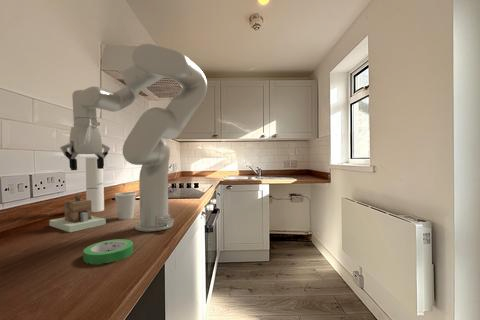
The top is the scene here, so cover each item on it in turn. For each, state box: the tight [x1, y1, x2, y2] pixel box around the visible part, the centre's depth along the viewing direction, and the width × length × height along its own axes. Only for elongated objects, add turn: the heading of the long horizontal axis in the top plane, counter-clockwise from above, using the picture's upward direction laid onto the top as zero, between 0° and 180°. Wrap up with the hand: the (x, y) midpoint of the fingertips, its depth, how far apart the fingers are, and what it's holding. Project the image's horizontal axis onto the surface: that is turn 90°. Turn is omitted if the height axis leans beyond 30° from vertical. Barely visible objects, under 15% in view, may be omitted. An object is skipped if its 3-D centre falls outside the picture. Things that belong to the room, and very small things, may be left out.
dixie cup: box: [113, 191, 137, 220], centre depth 105 cm, size 8×8×10 cm
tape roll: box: [82, 238, 134, 265], centre depth 64 cm, size 11×11×3 cm
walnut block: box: [64, 196, 93, 223], centre depth 94 cm, size 7×6×8 cm
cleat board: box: [49, 212, 107, 233], centre depth 94 cm, size 16×12×5 cm
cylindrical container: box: [85, 156, 105, 213], centre depth 120 cm, size 7×7×25 cm
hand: (87, 169), depth 96 cm, fingers open, 9 cm apart
